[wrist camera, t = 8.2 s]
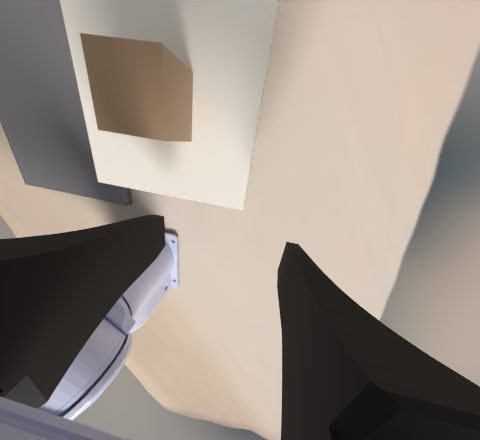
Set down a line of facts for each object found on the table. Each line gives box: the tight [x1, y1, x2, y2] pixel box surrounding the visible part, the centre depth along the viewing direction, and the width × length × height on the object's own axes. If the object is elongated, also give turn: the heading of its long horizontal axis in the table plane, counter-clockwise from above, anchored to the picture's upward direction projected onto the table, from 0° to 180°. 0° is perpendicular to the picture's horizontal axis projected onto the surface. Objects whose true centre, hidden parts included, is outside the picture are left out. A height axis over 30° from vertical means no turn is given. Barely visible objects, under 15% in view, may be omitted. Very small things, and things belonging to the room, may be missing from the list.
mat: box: [0, 0, 131, 205], centre depth 19 cm, size 18×15×1 cm
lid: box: [60, 0, 279, 210], centre depth 11 cm, size 13×13×4 cm
